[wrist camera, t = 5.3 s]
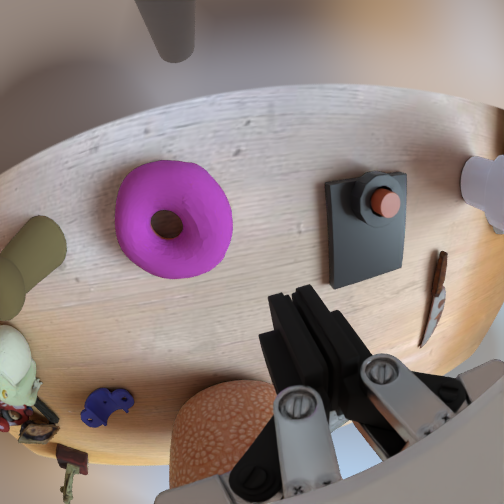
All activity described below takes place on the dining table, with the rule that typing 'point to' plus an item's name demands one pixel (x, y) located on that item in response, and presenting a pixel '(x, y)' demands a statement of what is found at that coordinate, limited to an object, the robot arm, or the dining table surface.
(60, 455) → the small statue on base
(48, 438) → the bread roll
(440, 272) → the kitchen knife
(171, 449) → the planter
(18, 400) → the figurine
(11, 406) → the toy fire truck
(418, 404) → the robot arm
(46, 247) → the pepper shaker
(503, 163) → the soap bottle
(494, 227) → the architectural model
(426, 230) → the dining table surface
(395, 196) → the button
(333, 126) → the dining table surface
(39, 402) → the folding knife
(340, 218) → the push button panel
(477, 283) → the dining table surface
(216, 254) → the donut
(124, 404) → the bracket
